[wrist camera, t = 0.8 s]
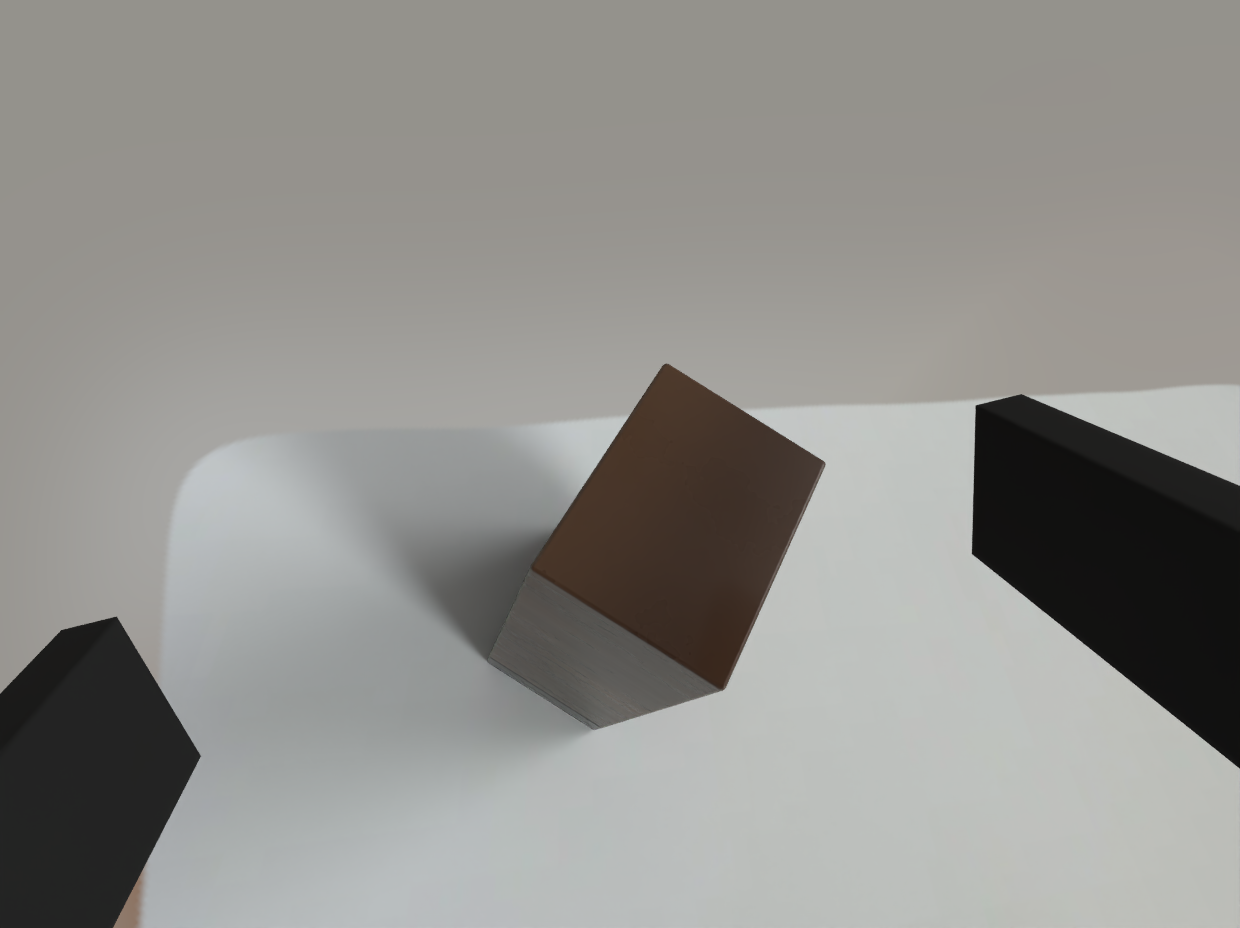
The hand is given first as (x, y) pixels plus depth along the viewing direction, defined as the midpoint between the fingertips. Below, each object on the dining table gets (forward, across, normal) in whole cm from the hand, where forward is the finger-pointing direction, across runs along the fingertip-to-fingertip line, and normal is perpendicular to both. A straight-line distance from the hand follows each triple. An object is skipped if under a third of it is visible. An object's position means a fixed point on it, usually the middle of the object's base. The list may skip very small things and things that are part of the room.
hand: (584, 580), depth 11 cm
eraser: (+12, -1, -10) cm, 15 cm away
